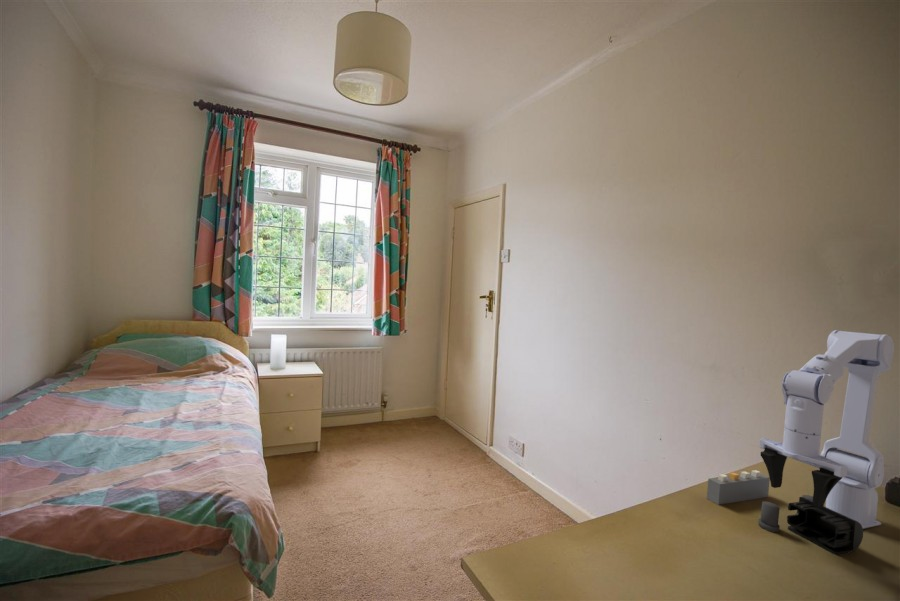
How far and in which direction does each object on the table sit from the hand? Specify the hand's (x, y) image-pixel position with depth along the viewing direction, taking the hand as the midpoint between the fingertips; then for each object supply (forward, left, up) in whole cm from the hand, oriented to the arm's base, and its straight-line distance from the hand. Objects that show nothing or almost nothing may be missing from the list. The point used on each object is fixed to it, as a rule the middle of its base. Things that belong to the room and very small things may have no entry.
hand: (796, 495), depth 83 cm
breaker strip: (-8, -17, -10) cm, 21 cm away
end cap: (-8, +1, -10) cm, 13 cm away
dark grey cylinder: (-15, -5, -10) cm, 19 cm away
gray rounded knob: (-1, -5, -10) cm, 11 cm away
